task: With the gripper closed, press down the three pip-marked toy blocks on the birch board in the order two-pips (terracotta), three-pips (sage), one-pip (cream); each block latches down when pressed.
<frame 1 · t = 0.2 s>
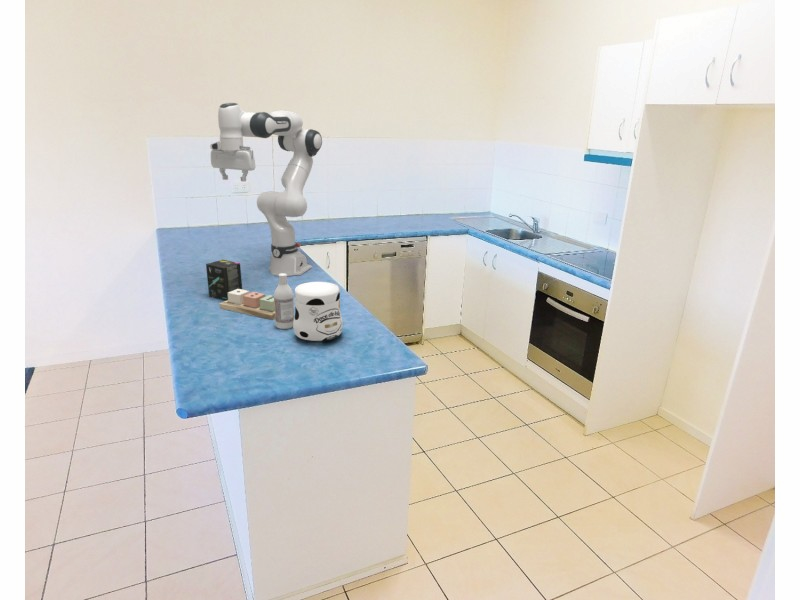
hand: (234, 180, 220), 48 cm above the worktop, fingers open, 8 cm apart
toy block 2: (254, 299, 212), point 4 cm above the worktop, slide at 0.0 cm
milk container: (318, 336, 190), on the worktop
toy block 1: (238, 296, 215), point 4 cm above the worktop, slide at 0.0 cm
toy block 3: (270, 302, 209), point 4 cm above the worktop, slide at 0.0 cm
bath foam: (285, 326, 198), on the worktop
board: (255, 309, 214), on the worktop
tampon box: (226, 296, 228), on the worktop
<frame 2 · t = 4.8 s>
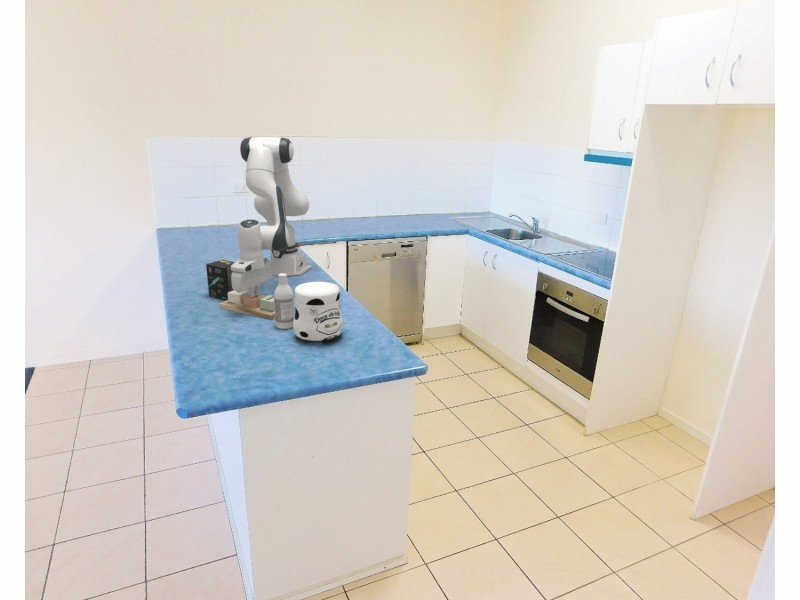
hand: (254, 296, 212), 6 cm above the worktop, fingers closed, pressing on toy block 2
toy block 2: (254, 301, 213), point 3 cm above the worktop, slide at 0.7 cm, touching gripper
everything else where it was.
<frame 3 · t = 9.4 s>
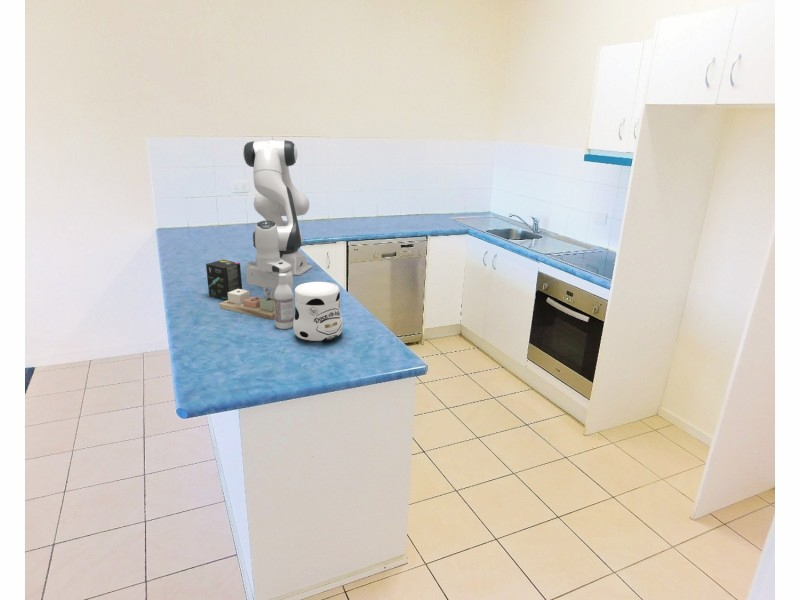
hand: (270, 298, 208), 6 cm above the worktop, fingers closed, pressing on toy block 3
toy block 2: (254, 304, 213), point 2 cm above the worktop, slide at 1.9 cm
toy block 3: (270, 303, 209), point 4 cm above the worktop, slide at 0.2 cm, touching gripper
everything else where it was.
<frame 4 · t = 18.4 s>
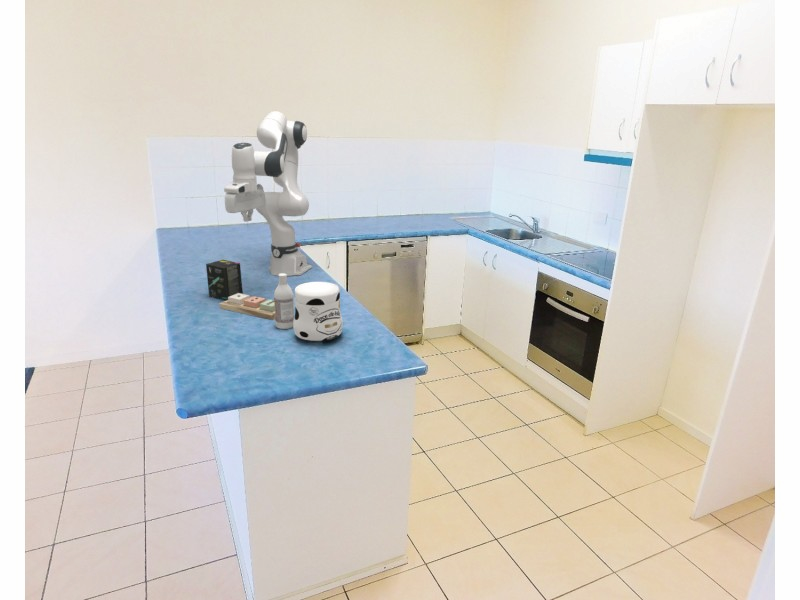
hand: (247, 221, 214), 33 cm above the worktop, fingers closed
toy block 1: (239, 300, 216), point 2 cm above the worktop, slide at 1.9 cm
toy block 3: (271, 307, 210), point 2 cm above the worktop, slide at 1.9 cm
everything else where it was.
at the end: toy block 2 slide at 1.9 cm; toy block 3 slide at 1.9 cm; toy block 1 slide at 1.9 cm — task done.
